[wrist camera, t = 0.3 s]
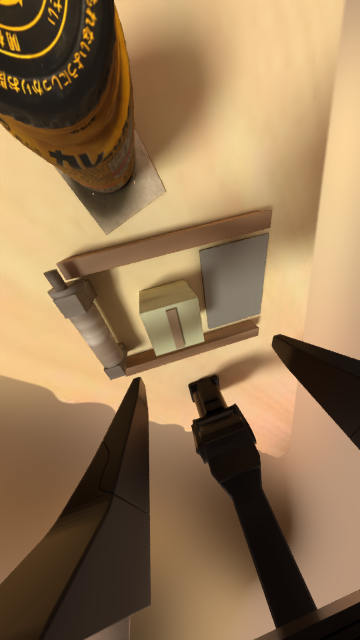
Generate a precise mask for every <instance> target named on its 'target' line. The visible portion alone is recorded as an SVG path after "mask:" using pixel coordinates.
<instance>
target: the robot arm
mask: <svg viewBox="0 0 360 640" xmlns="http://www.w3.org/2000/svg"><path fill="white" fill-rule="evenodd" d="M272 347H273V349H274V351H275V352H276V353H277V355H278V356H279V357H280V359H281V360H282V362H283V363H284V364H285V366H286V367H287V368H288V369H289V371H290V372H291V373H292V374H293V375H294V376H295V377H296V378H297V380H298V381H299V382H300V383H301V384H302V385H303V386H304V387H305V389H307V391H308V392H309V393H310V394H311V395H312V397H313V398H314V399H315V400H316V401H317V402H318V403H319V404H320V405H321V406H322V408H323V409H324V410H325V411H326V412H327V413H328V415H329V416H330V417H331V418H332V419H333V420H334V421H335V422H336V424H338V426H339V427H340V428H341V429H342V430H343V431H344V433H345V434H346V435H347V436H348V437H349V438H350V440H351V441H352V442H353V443H354V444H355V445H356V446H357V447H358V449H359V450H360V360H357V359H354V358H350V357H348V356H345V355H342V354H339V353H336V352H333V351H330V350H327V349H324V348H321V347H318V346H315V345H311V344H309V343H305V342H303V341H300V340H297V339H293V338H290V337H287V336H284V335H281V334H278V335H275V336H274V337H273V341H272ZM188 387H189V390H190V394H191V397H192V401H193V402H195V403H196V407H197V410H198V413H199V416H200V418H198V419H196V420H195V419H194V420H193V424H192V425H191V427H192V431H193V435H194V441H195V447H196V452H197V454H199V455H200V456H201V457H202V459H203V461H204V463H205V464H207V463H208V464H209V467H210V471H211V474H212V475H213V477H214V478H215V479H216V480H217V482H218V483H219V484H220V485H221V487H222V488H223V489H224V490H225V491H226V493H227V494H228V495H229V496H230V497H231V499H232V500H233V503H234V506H235V509H236V512H237V515H238V517H239V521H240V524H241V526H242V529H243V532H244V535H245V538H246V541H247V544H248V547H249V550H250V553H251V556H252V559H253V562H254V565H255V568H256V571H257V574H258V576H259V580H260V582H261V585H262V588H263V591H264V594H265V597H266V600H267V603H268V606H269V609H270V612H271V615H272V618H273V621H274V624H275V627H276V629H275V630H273V631H271V632H269V633H267V634H265V635H263V636H260V637H258V638H256V639H254V640H360V590H358V591H355V592H353V593H351V594H349V595H347V596H345V597H343V598H341V599H339V600H336V601H334V602H332V603H330V604H328V605H326V606H324V607H322V608H320V609H317V608H316V605H315V603H314V601H313V599H312V597H311V594H310V592H309V590H308V588H307V586H306V583H305V581H304V579H303V577H302V575H301V573H300V571H299V568H298V566H297V564H296V562H295V560H294V557H293V555H292V553H291V551H290V548H289V546H288V544H287V542H286V540H285V538H284V535H283V533H282V531H281V529H280V526H279V524H278V522H277V520H276V518H275V515H274V513H273V511H272V509H271V507H270V505H269V503H268V500H267V498H266V496H265V494H264V491H263V489H262V481H261V462H260V455H259V452H258V450H257V448H256V446H255V444H256V439H255V436H254V434H253V432H252V430H251V428H250V426H249V424H248V422H247V421H246V419H245V417H244V416H243V414H242V413H241V411H240V409H239V408H238V406H237V405H236V404H233V405H232V406H230V407H228V406H227V404H226V402H225V400H224V398H223V396H222V394H221V392H220V388H219V378H218V376H213V377H210V378H207V379H204V380H201V381H198V382H195V383H192V384H189V385H188ZM103 440H104V441H102V443H101V445H100V446H99V448H98V450H97V452H96V454H95V456H94V458H93V460H92V462H91V464H90V465H89V467H88V469H87V471H86V472H85V474H84V476H83V478H82V479H81V481H80V482H79V484H78V486H77V488H76V489H75V491H74V493H73V494H72V496H71V498H70V499H69V501H68V503H67V504H66V506H65V508H64V509H63V511H62V513H61V514H60V516H59V517H58V519H57V521H56V522H55V523H54V525H53V526H52V528H51V529H50V530H49V532H48V533H47V534H46V535H45V537H44V538H43V539H42V540H41V541H40V542H39V543H38V545H36V547H35V548H34V549H33V550H32V551H31V552H30V553H29V554H28V555H27V556H26V557H25V558H24V560H23V561H22V562H21V563H20V564H19V565H18V566H17V567H16V568H15V569H14V570H13V571H12V572H11V573H10V575H9V576H8V577H7V578H6V579H5V580H4V581H3V582H2V583H1V584H0V640H129V636H130V616H131V615H133V614H135V613H137V612H139V611H141V610H143V609H145V608H147V607H149V606H150V605H151V587H150V586H151V582H150V580H151V579H150V515H149V513H150V502H149V419H148V405H147V397H146V389H145V385H144V383H143V381H142V379H141V377H137V378H134V379H133V381H132V383H131V385H130V387H129V389H128V391H127V393H126V395H125V397H124V399H123V401H122V403H121V405H120V407H119V409H118V411H117V413H116V415H115V417H114V419H113V421H112V423H111V425H110V427H109V428H108V431H107V433H106V434H105V436H104V438H103Z"/></svg>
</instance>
